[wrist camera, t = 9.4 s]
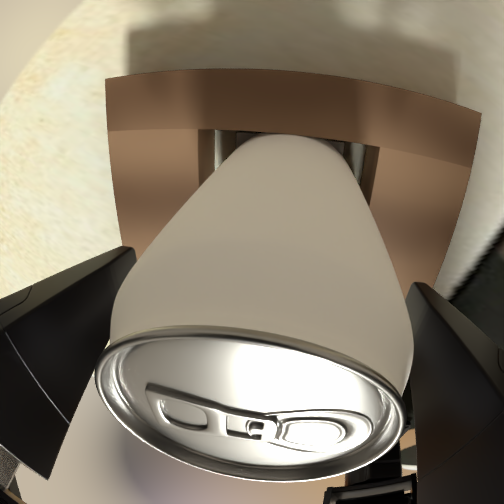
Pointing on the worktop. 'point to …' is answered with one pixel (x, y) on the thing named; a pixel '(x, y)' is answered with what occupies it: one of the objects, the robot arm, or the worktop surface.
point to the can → (264, 323)
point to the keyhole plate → (296, 123)
